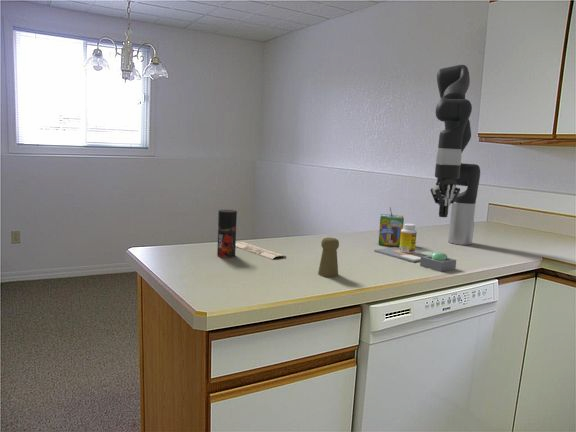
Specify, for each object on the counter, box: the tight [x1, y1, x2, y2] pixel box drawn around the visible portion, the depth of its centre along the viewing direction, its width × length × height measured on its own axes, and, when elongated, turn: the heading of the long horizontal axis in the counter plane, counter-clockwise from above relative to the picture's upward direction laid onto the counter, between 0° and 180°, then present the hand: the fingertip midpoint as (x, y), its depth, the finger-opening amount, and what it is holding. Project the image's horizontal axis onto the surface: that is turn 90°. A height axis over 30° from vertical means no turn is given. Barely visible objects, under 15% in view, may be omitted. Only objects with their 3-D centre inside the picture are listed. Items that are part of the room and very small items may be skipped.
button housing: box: [419, 255, 457, 273], centre depth 155 cm, size 8×8×3 cm
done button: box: [431, 251, 447, 261], centre depth 155 cm, size 4×4×4 cm
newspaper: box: [236, 241, 287, 260], centre depth 165 cm, size 24×7×2 cm, turn 40°
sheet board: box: [373, 246, 448, 263], centre depth 173 cm, size 19×18×1 cm
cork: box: [317, 237, 340, 278], centre depth 139 cm, size 6×6×11 cm
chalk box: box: [378, 207, 405, 247], centre depth 189 cm, size 9×9×15 cm
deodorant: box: [216, 209, 238, 259], centre depth 156 cm, size 6×6×15 cm
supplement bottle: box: [399, 223, 418, 253], centre depth 172 cm, size 6×6×10 cm
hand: (442, 216), depth 153 cm, fingers closed
